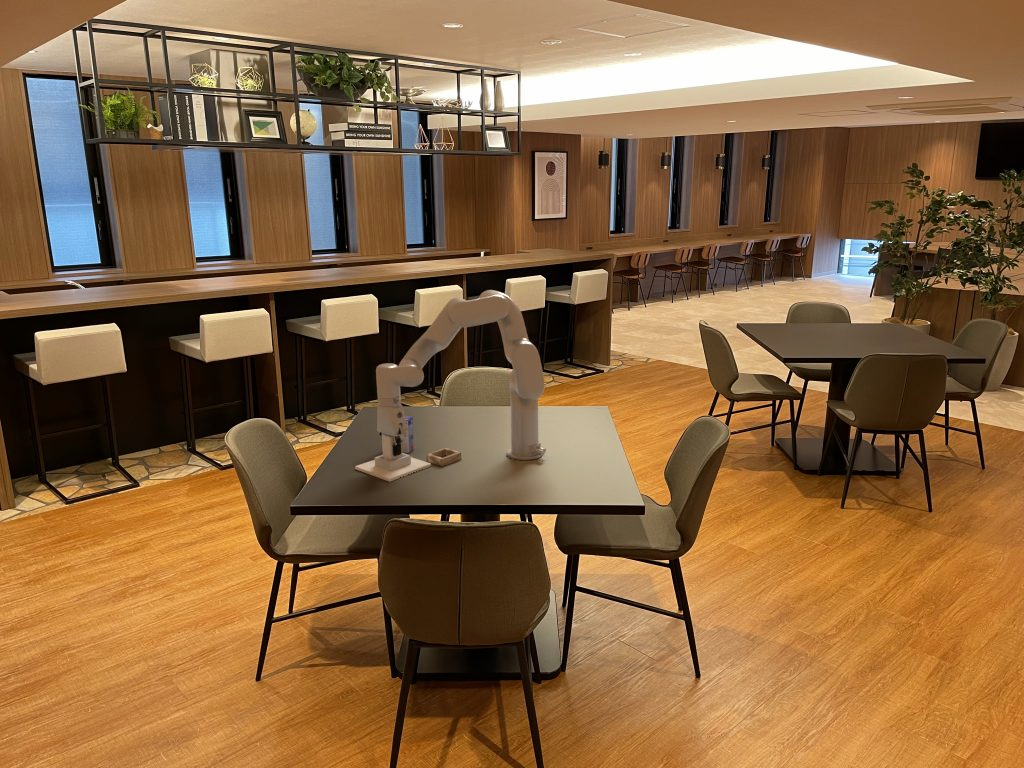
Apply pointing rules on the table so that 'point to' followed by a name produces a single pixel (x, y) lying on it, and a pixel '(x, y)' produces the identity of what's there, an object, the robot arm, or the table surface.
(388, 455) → the plug
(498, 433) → the table surface
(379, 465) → the port board
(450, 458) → the brown rectangular frame
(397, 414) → the robot arm
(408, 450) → the ink cartridge box
